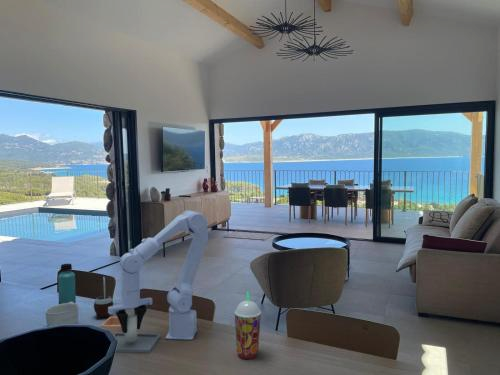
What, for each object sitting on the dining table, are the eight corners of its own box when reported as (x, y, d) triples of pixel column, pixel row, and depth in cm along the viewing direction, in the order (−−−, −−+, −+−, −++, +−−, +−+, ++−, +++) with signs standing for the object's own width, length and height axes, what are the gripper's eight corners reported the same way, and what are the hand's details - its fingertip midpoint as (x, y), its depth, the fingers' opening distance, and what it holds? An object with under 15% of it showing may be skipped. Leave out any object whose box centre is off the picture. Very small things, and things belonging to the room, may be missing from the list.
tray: (160, 338, 132) (160, 333, 132) (149, 354, 120) (149, 349, 120) (115, 336, 133) (115, 332, 133) (99, 352, 121) (99, 348, 121)
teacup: (65, 336, 133) (65, 313, 133) (38, 333, 135) (38, 311, 135) (89, 321, 147) (89, 300, 146) (65, 318, 149) (64, 298, 149)
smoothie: (235, 348, 124) (235, 287, 123) (260, 348, 124) (261, 288, 123) (233, 361, 116) (233, 296, 115) (260, 361, 116) (261, 296, 115)
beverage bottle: (79, 311, 156) (78, 263, 156) (64, 316, 151) (63, 266, 150) (70, 308, 160) (69, 261, 159) (54, 313, 154) (54, 264, 154)
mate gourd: (102, 322, 145) (101, 283, 145) (88, 318, 149) (88, 280, 149) (117, 316, 152) (117, 279, 151) (104, 312, 156) (104, 276, 155)
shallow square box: (132, 325, 143) (132, 317, 143) (123, 334, 134) (123, 326, 134) (110, 324, 143) (110, 316, 143) (99, 334, 135) (99, 325, 135)
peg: (139, 337, 128) (139, 313, 128) (134, 342, 124) (134, 318, 124) (127, 336, 128) (127, 313, 128) (122, 342, 124) (122, 317, 124)
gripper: (145, 282, 133) (145, 321, 134) (104, 291, 124) (104, 332, 124) (155, 287, 128) (155, 327, 129) (112, 296, 118) (113, 339, 119)
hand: (131, 330), depth 126 cm, fingers closed on peg, 4 cm apart
